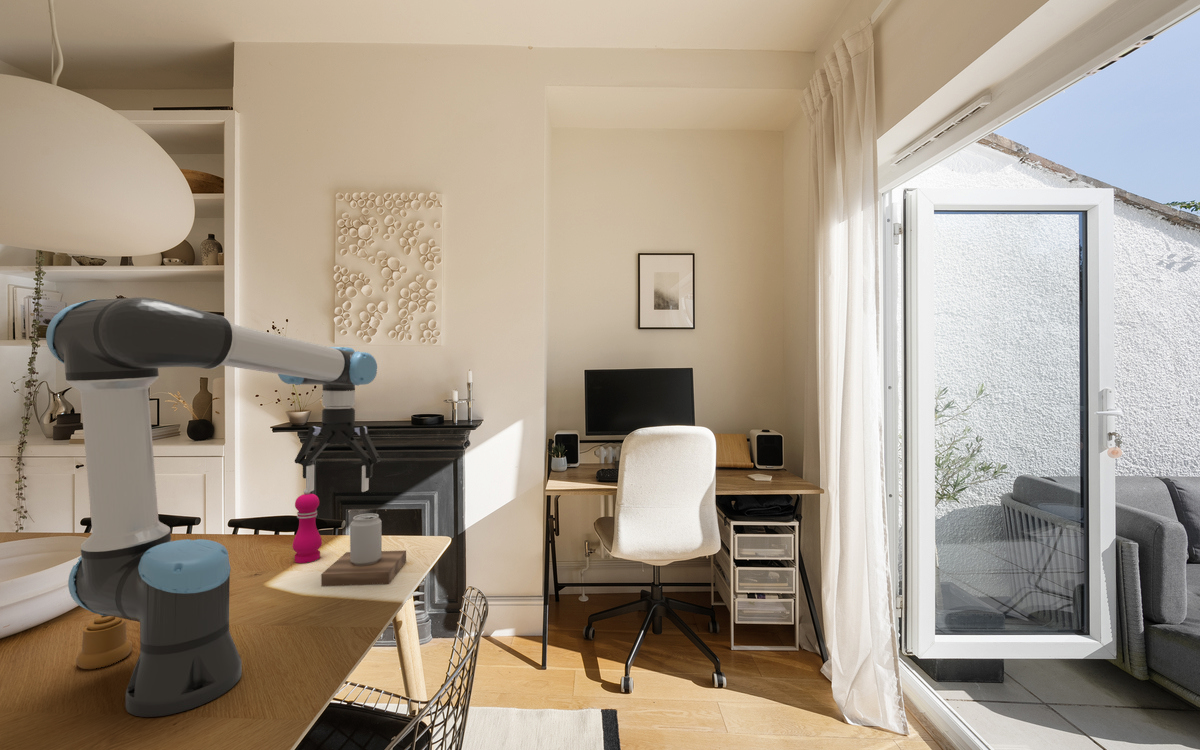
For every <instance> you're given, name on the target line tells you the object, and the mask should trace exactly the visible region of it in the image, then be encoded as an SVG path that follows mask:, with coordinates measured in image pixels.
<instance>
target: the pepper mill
mask: <svg viewBox="0 0 1200 750" xmlns="http://www.w3.org/2000/svg"><path fill="white" fill-rule="evenodd" d="M311 492H312V491H311ZM311 492H306V488H304V490H303V494H301V495H299V496H298V497H297V498H296V499H295V502H294V507H295V509H296V510H297V512H296V514H297V515H296V518H297V519H298V521H299V522H298V529H297V531H296V534H295V537H294V538H293V541H292V550H293V551H294V552H295V554H294V562H295V564H307V562H309V563H312V561H313V562H316V561H318V560H319V559H320V558H321V552H320V550H319V549H320V548H321V546H322V544H323V540H322V537H321V533H319V530H318V528H317V525H316V524H317V523H316V520H317V519H316V518H317V516H318V510H317V509H318V507H319V506H320V499H319V497H318V495H316V494H314V493H311ZM317 559H318V560H317ZM315 560H316V561H315Z"/></svg>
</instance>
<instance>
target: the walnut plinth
mask: <svg viewBox="0 0 1200 750" xmlns="http://www.w3.org/2000/svg"><path fill="white" fill-rule="evenodd" d="M405 561H406V562H407V550H406V549H405V550H382V556H381V558H380V559H379V560H378V561H377V562H376V563H374V564H370V565H363V566H359V565H355V564H354V563H352V562H351V561H350V551H347V552H345V553H344V554H342V555H341V556H340V557H339V558H337V560H336V561H335V562H334V563H332V564H331V565H329V567H328V568H327V569H325V570H324V571H323V572H322V573H321V574H320V577H321V578H320V579H321V580H320V582H321V583H320V584H321V587H336V586H340V587H341V586H366V585H367V586H368V585H371V586H373V585H389V584H390V583H391V581H393V579H394V578H395V576H396V575H397V574H398V572H399V571H400V570H401V569H402V567H403V566H404V565H405V563H406V562H405Z"/></svg>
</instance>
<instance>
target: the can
mask: <svg viewBox="0 0 1200 750" xmlns="http://www.w3.org/2000/svg"><path fill="white" fill-rule="evenodd" d="M349 528H350V530H349V534H350V535H349V538H350V540H349V542H350V545H349V550H350V551H349V552H350V561H351V562H352V563H354V564H355V565H359V566H363V565H370V564H374V563H376V562H377V561H378V560H379V559H380V558H381V556H382V551H383V550H382V549H383V548H382V539H383V538H382V528H383V527H382V520H381V518H380V515H379V514H378V513H373V512H372V513H362V514H358V515H355V516H353V517H352V521H351V522H350V524H349Z"/></svg>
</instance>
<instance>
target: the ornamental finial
mask: <svg viewBox="0 0 1200 750" xmlns="http://www.w3.org/2000/svg"><path fill="white" fill-rule="evenodd" d="M126 620H127V619H123V618H119V617H114V616H103V615H100V614H99V615H98V616H96V617H95V618H94V620H92V621H90V622H89V623H88V624H87V625H86V626H85V627H84V628H83V629H82V643H81V644H82V645H81V650H80V651H79V653H78V654H77V656H76V659H75V663H76V665H77V667H78V668H80V669H82V670H96V668H97V669H101V667H102V668H106V667H108V665H109V666H111V665H110V664H112V665H114V664H117V663H118V661H119V662H121V661H123V660H124V659H125V658H127V657H128V656H129V655H130V654H131V652H132V649H133V644H132V641H131V640H130V639H129V638H128V637H127V636H128V635H127V634H128V633H127V622H126ZM122 659H123V660H122ZM120 660H121V661H120ZM116 662H117V663H116ZM113 663H114V664H113ZM105 666H106V667H105Z"/></svg>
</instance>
